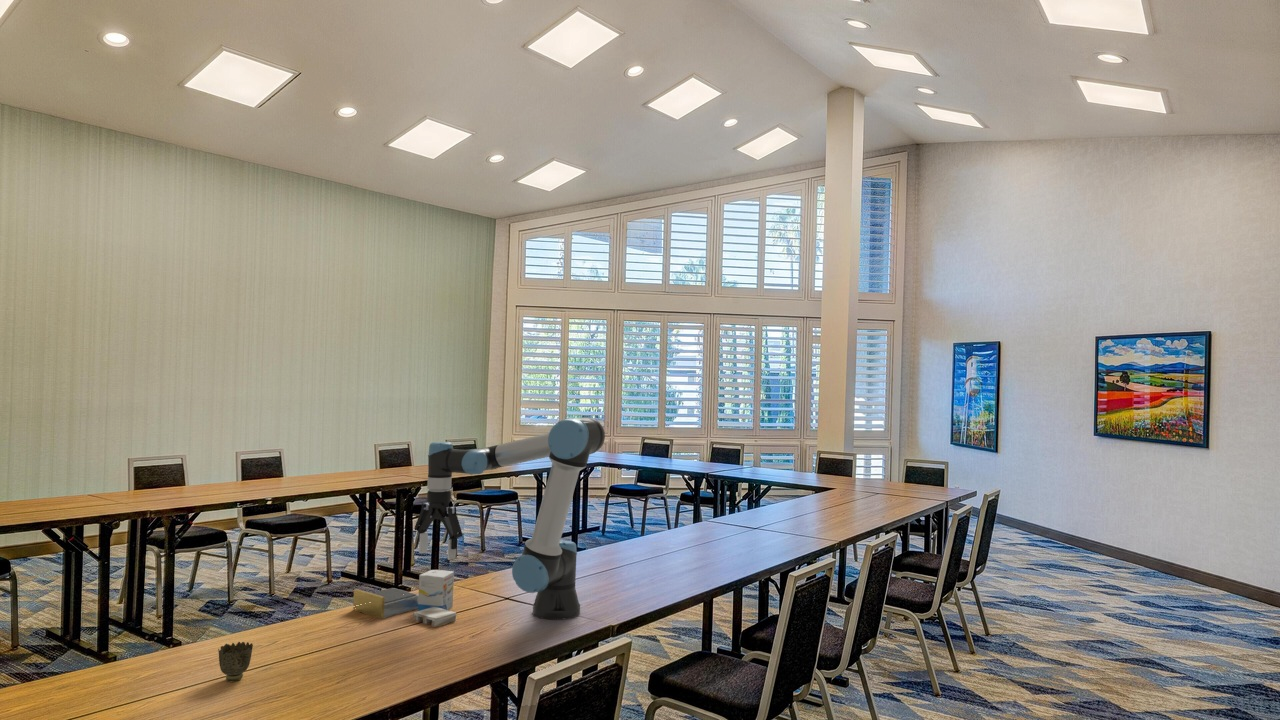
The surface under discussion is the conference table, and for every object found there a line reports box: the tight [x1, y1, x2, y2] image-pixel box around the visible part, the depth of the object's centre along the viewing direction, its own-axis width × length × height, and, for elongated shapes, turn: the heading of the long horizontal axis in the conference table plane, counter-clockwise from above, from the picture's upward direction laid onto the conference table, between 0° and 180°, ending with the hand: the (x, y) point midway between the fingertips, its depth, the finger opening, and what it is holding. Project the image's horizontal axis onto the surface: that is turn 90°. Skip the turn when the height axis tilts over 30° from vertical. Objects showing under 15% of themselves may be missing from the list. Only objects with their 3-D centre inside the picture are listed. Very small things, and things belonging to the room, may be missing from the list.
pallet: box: [413, 607, 457, 628], centre depth 237 cm, size 10×8×2 cm
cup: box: [217, 641, 254, 682], centre depth 187 cm, size 8×7×8 cm
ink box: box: [417, 569, 455, 611], centre depth 248 cm, size 9×8×12 cm
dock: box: [352, 587, 419, 619], centre depth 247 cm, size 14×15×6 cm
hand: (437, 556), depth 249 cm, fingers open, 13 cm apart
